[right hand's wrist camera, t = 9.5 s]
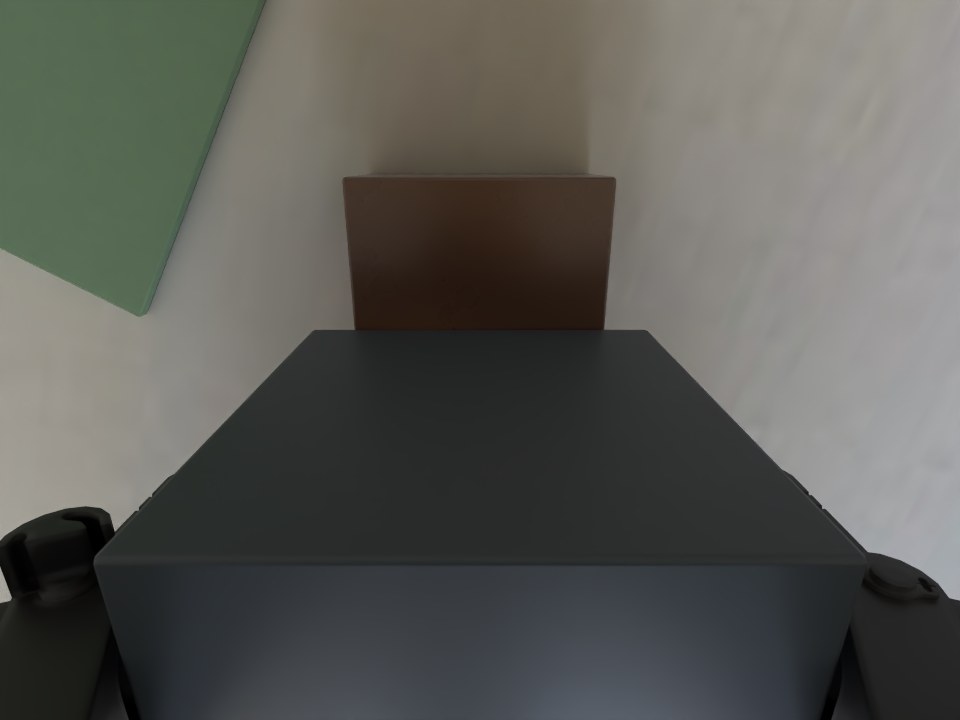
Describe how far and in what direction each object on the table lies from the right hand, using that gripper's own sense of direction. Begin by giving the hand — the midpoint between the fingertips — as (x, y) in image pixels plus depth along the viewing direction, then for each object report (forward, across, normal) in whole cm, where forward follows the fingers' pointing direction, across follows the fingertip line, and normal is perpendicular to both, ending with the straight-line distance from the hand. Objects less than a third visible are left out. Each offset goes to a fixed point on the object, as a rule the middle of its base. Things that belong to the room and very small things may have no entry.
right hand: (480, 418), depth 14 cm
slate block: (0, 0, 0) cm, 0 cm away
